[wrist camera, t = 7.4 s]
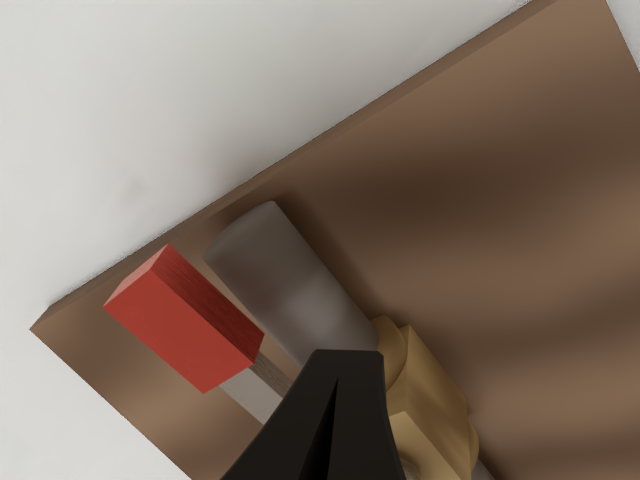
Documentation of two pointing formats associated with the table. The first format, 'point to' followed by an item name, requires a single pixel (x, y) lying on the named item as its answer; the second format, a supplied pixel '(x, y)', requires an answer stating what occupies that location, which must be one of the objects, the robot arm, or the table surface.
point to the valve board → (429, 265)
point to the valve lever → (202, 334)
